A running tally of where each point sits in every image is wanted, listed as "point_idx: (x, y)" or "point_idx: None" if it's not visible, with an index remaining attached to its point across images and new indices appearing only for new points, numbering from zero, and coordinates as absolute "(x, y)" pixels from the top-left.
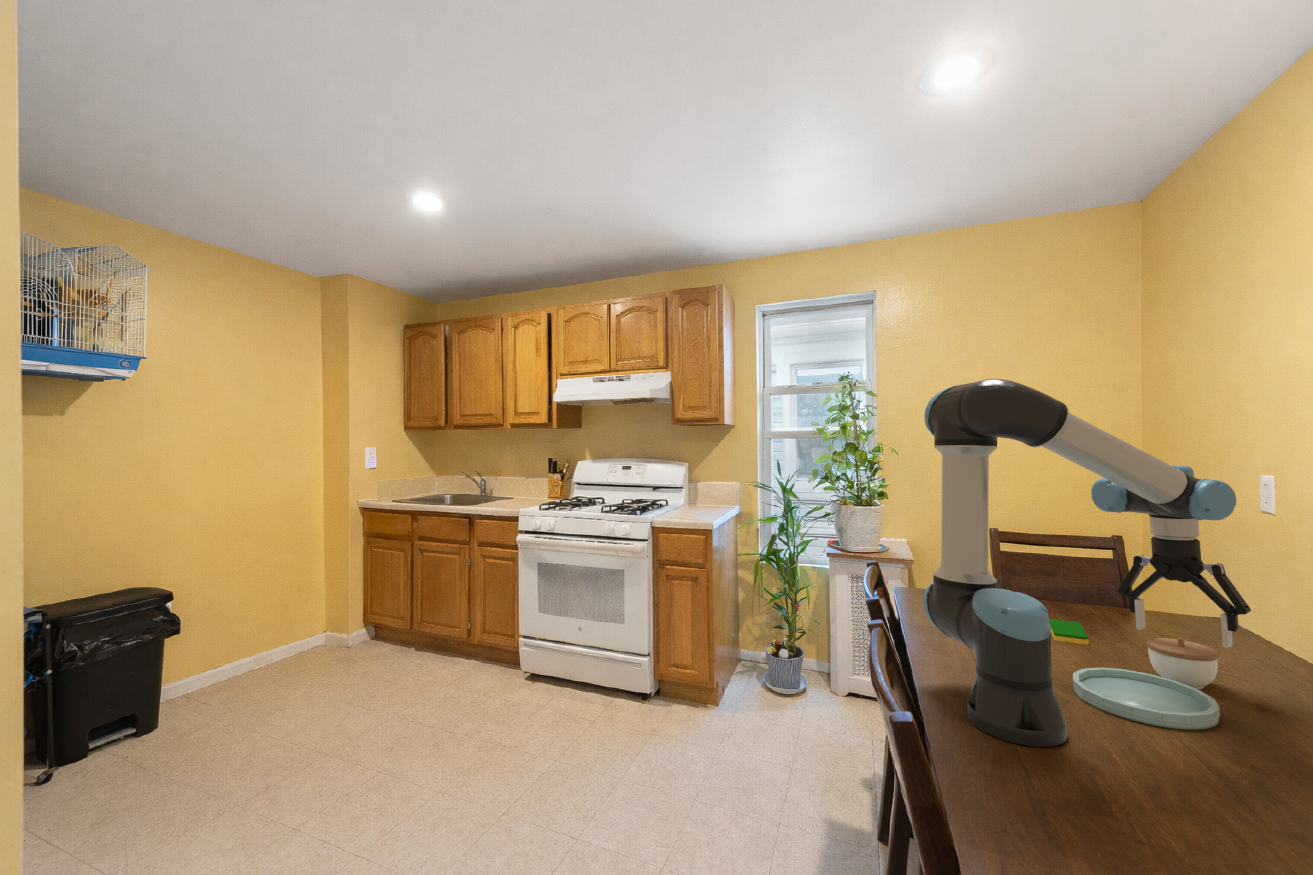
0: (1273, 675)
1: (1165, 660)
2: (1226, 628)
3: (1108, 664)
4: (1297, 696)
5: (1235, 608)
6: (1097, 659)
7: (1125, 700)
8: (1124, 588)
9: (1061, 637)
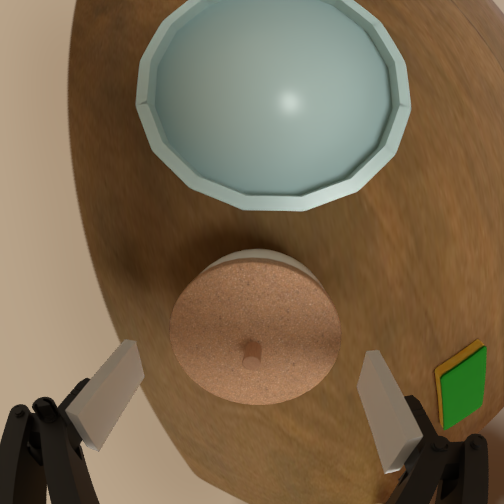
0: (191, 433)
1: (274, 255)
2: (93, 378)
3: (398, 285)
4: None
5: (35, 431)
6: (418, 298)
7: (283, 31)
8: (471, 463)
9: (474, 348)
